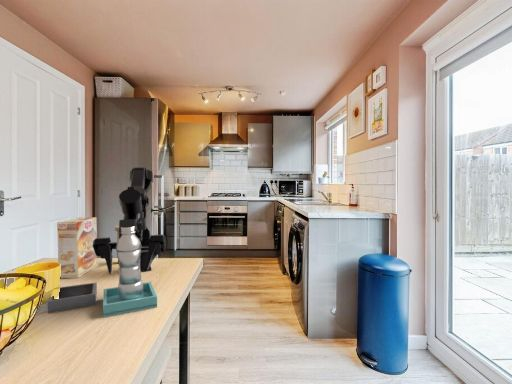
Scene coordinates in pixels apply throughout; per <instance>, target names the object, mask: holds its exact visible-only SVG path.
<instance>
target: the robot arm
mask: <svg viewBox="0 0 512 384" xmlns="http://www.w3.org/2000/svg"><path fill="white" fill-rule="evenodd" d="M129 181H130V186H127V189H125V190H123V191H121V192H120V193H119V195H118V199H119V201H118V202H119V206H120V208H121V212H122V214H123V218H122V219H119V222H118V226H119V239H120V238H121V236H122V234H121V227H123V228H128V227H134V226H135V230H136V233H135V235H136V236H137V238H138V239H139V240H140V242H141V255H140V271H141V272H149V271H152V266H151V265H152V263H153V261H154V259H155V258H156V257H157V256H159V255H161V253H164V252H166V236H165V235H164V234H151V232H150V230H149V228H148V226H147V225H148V224H147V223H148V222H147V221H148V206H149V204H150V203H151V202H150V201H151V200H150V198H149V196H148V193H149V191H150V190H151V188H152V183H154V173H153V170H150V169H148V168H147V167H143V166H142V167H139V166H138V167H135V166H134V167H132V170H130V171H129ZM117 243H118V242H117V241H112V240H111V237H110V236H108V237H97V238H96V239H95V240H94V241H93V249H94V251H95V254H96V256H97V258H98V257H99V258H100V259H104V260H105V262H106V266H107V271H108V275H111V274H112V270H113V254H112V253H113V250H116V245H117Z"/></svg>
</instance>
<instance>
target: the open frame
mask: <svg viewBox="0 0 512 384" xmlns="http://www.w3.org/2000/svg"><path fill="white" fill-rule="evenodd" d="M97 294H98V282H97V281H96V282H89V283H83V284H75V285H74V284H73V285H68V286H67V285H66V286H61V287H60V292H59V299H54V296H52V297H50V296H49V297H50V298H48V300H47V301H46V302H47V304H46V305H47V314H52V313H58V312H63V311H70V310H76V309H77V310H78V309H82V308H87V307H88V308H89V307H93V306H96V304H97V296H98V295H97Z"/></svg>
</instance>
